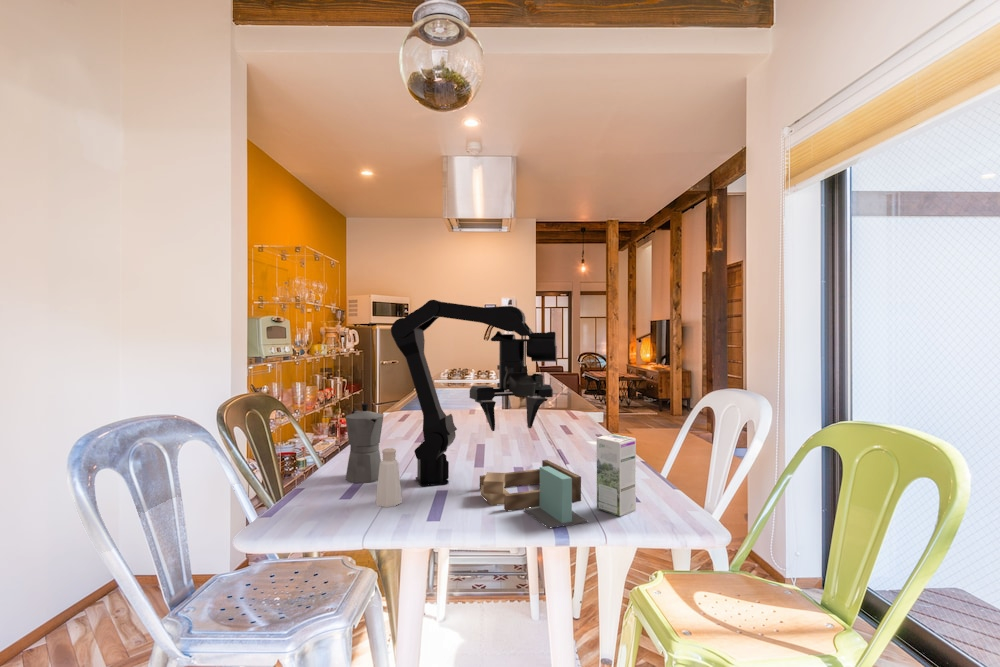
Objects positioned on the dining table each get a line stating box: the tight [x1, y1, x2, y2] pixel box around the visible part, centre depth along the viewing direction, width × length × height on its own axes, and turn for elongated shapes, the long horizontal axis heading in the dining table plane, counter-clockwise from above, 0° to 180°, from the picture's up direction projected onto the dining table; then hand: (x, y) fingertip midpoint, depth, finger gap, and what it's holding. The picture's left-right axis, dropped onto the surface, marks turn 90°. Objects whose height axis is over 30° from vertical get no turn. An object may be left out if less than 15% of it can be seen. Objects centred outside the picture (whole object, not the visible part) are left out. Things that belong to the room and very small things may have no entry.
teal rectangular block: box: [539, 466, 573, 523], centre depth 95 cm, size 2×9×8 cm, turn 23°
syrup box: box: [596, 433, 637, 517], centre depth 99 cm, size 6×6×14 cm
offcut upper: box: [484, 472, 506, 494], centre depth 105 cm, size 4×6×2 cm, turn 176°
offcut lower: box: [480, 485, 510, 506], centre depth 105 cm, size 4×7×2 cm, turn 19°
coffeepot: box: [345, 402, 384, 484], centre depth 121 cm, size 15×9×18 cm, turn 35°
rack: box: [479, 459, 582, 512], centre depth 108 cm, size 17×15×5 cm
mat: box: [524, 506, 588, 529], centre depth 95 cm, size 8×10×1 cm
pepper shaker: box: [375, 447, 403, 508], centre depth 102 cm, size 5×5×11 cm
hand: (511, 429), depth 114 cm, fingers open, 9 cm apart
